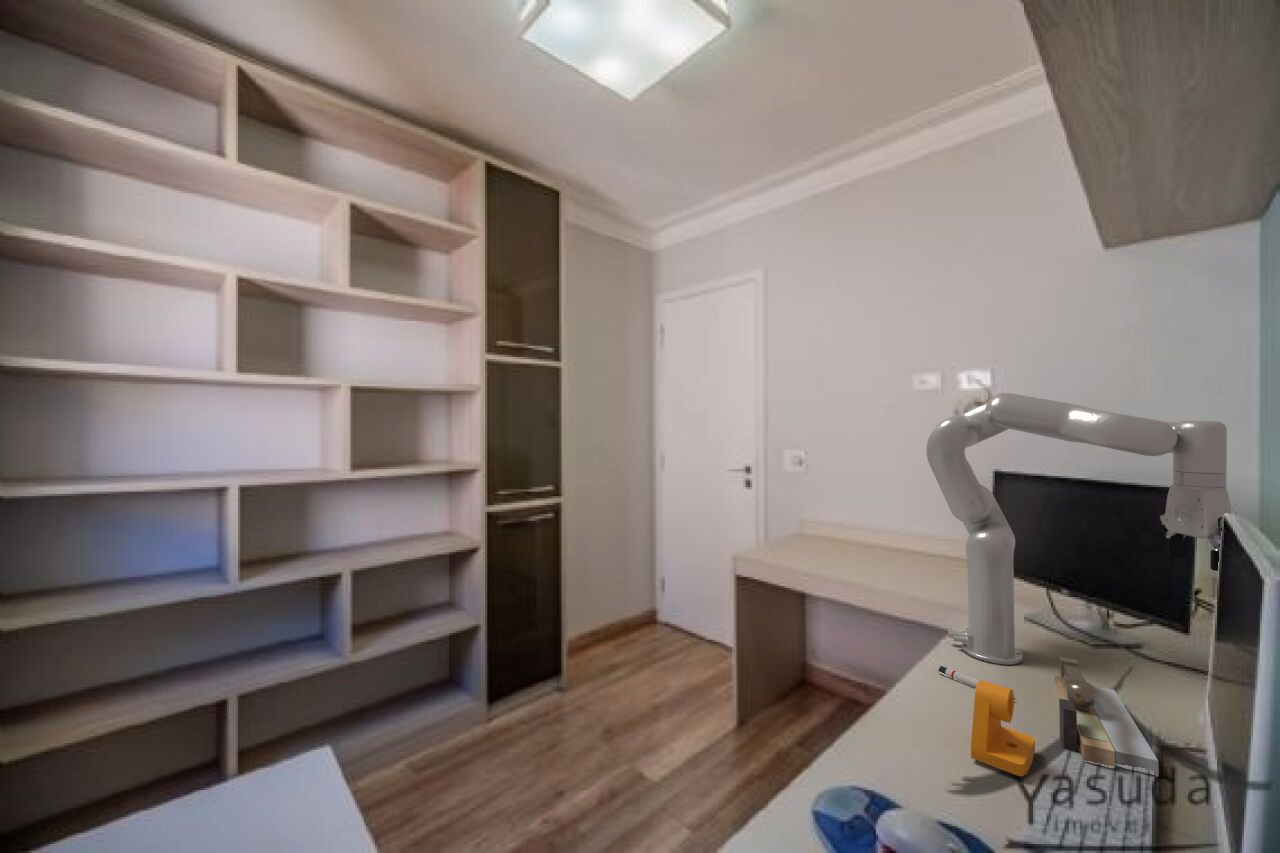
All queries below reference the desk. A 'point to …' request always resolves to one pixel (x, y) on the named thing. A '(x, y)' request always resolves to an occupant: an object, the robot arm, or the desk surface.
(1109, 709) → the doorframe
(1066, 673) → the door handle
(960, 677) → the marker
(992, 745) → the bracket
